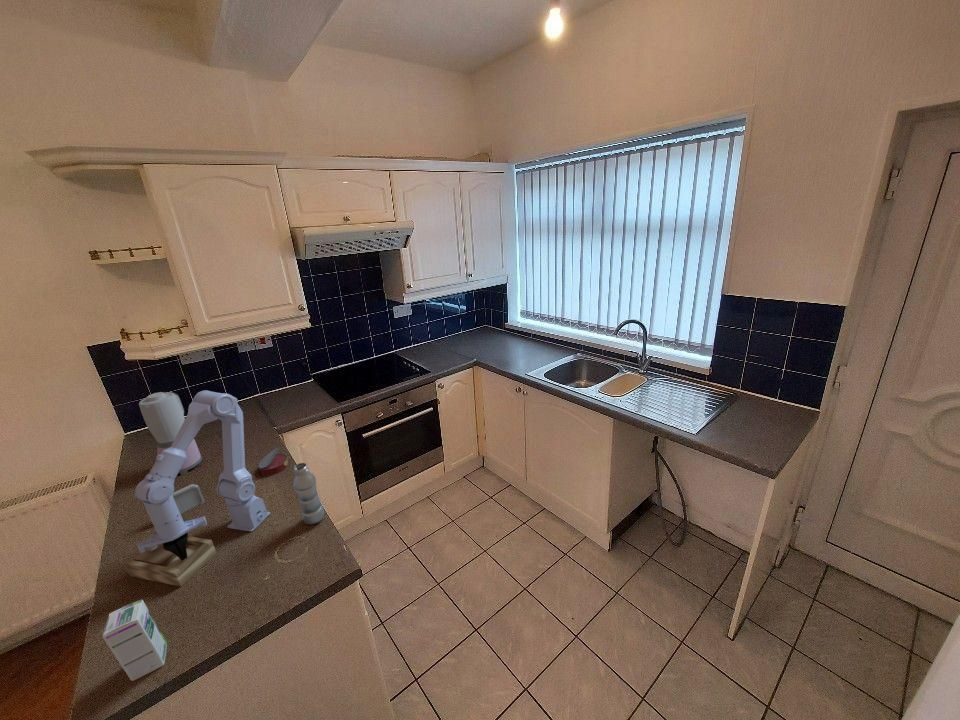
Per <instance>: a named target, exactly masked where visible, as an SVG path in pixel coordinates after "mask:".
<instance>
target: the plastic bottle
mask: <svg viewBox="0 0 960 720" xmlns="http://www.w3.org/2000/svg"><path fill="white" fill-rule="evenodd" d="M293 473H294V475H295V476H294V478H293V481H292V486H293V489H294V491H295V493H296V495H297V498H298V500H299V503H300V508H301V519H302V520H303V522H304V523H305V524H307V525H315V524H317V523H320V521H322V520H323V518H324V516H325V508H324V506H323V504H322V502H321V499H320V497H319V493H318V489H317V479H316V476H315V474H314V473H312V472H311V471H309V467H308V465H307V463H305V462H299V463H297V464H296V465H294V466H293Z"/></svg>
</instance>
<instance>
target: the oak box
mask: <svg viewBox="0 0 960 720" xmlns="http://www.w3.org/2000/svg"><path fill="white" fill-rule="evenodd" d="M187 544H188V546H189V547H188V548H186V551H187V558H186V559H184V560H182V561H181V560H180V558H179V557H178V556H177V557H176V558H175V559H174V560H173V561H171V562H170V563H169V564H168V565H167V566H166V567H165V566H160V565H155V564H150V563H144V562H139V561H134V559H129V558H128V559H127V560H125V561H123V565H124V566H125V567H124V568H125V569H126V570H127V573H128V575H129V577H132V578H134V577H135V578H139V579H143V580H148V581H152V582H156V583H157V582H158V583H162V584H167V585H171V586H177V587H183V586H184V585H185V583H187V582H188V581H189V580H190V579H191V578H192V577H193V576H194V575H195V574H196V573H197V572H198V571H199V570H201V568H203V566H205V565H206V564H207V563H208V562H209V561H210V560H211V559H212V558H213V557H214V556H215V555H216V554H217V553H218V552H217V550H216V547H215V546H214V545H215V544H214V543H213V540H212V539H208V538H201V537H196V536H189V535H188V540H187Z"/></svg>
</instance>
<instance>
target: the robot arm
mask: <svg viewBox="0 0 960 720" xmlns="http://www.w3.org/2000/svg"><path fill="white" fill-rule="evenodd" d="M187 411H188V412H187V415H186V417H184V418H185V420H184V422H183V424H182V426H181V428H180V430H179V432H178V434H177V436H176V438H175V440H174V442H173V444H172V446H171V447H170V448H168V449H165V450H163V451H162V453H161V454H160V455H158V454H157V456H155V457H156V458H155V460H156V461H155V462H154V464H153V466H152V468H151V469H150V471H149V472H148V473H147V474H146V475H145V477H144V479H142V480H140V482H139V483H138V484H137V485H136V487H135V490H134V491H135V492H134V494H133V496H134V498H135V499H137V500H139V501H142V504H143V505H144V507H145V510H146V513H147V515H148V517H149V519H150V521H151V523H152V526H153V527H154V529H155V531H156V533H155V534H153V535H151V536H150V537H148V538H146V539H144V540H143V541H141V542H140V541H139V542H138V543H137V549H138V552H139V554H140V553H143V552H145V551H146V549H148V548H151V547H153V546H156V545H158V544H161V543H163V548H164V549H165V550H167V551H170V552H172V553H173V554H175V555H176V556H178V557H179V558H180V560H181V561H182V560H184V559H186V558H187V551H186V545H187V540H188V536H189V534H188V533H189V532H191V531H193V530H196V529H198V528H200V527H202V528H203V527H206V526H207V525H208V523H207V521H208V520H207V519H206V517H205V516H201V517H200V516H199V517H198V518H194V519H190V520H186V521H184V519H183V517H182V513H181V514H180V512H179V510H178V507H177V505H176V503H175V500H174V498H173V496H172V494H173V492H175V479H176V478H177V476H178V474H180V473H179V471H180V469H181V467H182V466H183V464H184V462H185V460H186V459H187V456H186V453H185V451H186V449H187V448H188V446H189V445H190V443H191V442H192V440H193V439H194V440H195V438H196V436H197V435H198V434H199V432H200V430H201V428H202V427H203V426H204V425H205V424H208V423H212V422H214V421H217V420H220V421H221V434H222V455H223V457H222V459H223V471H222V472H221V473H220V474H219V475H218V483H217V485H216V489H215V490H216V494H217V495H218V496H220V497H223V498H224V501H225V504H226V507H227V509H228V512H229V515H230V518H231V523H229V524H228V525H227V528H228V529H233V530H239V531H243V532H244V531H245V532H253V531H254V530H255V529H256V528H257V527H259V526H260V524H261V523H262V522H263V521H265V519H266V518H268V516H270V515H271V512H270V511H268V510H267V507H266V504H265V501H264V499H263V498H261V497H258V496H256V495H255V492H256V485H255V483H254V481H253V476H252V474H251V473H250V471H248V470H247V468H246V456H245V455H246V454H245V431H244V428H245V427H244V411H243V410H242V409H241V407H240V405H239V404H238V398H237V397H235V396H233V395H232V394H230V393H224V392H223V393H221V392H215V391H211V390H208V389H207V390H206V389H205V390H202V391H199V392H196V394H195V395H194V397H193V399H192V401H191V403H190V404H189V405H188V410H187Z"/></svg>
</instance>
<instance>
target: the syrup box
mask: <svg viewBox="0 0 960 720" xmlns="http://www.w3.org/2000/svg"><path fill="white" fill-rule="evenodd" d="M102 639H103V640H104V642H105V643H106V645H107V646H108V648H109V649H110V651H111V653H112V655H114V658H116V660H117V661H118V663H119V664H120V666H121V667H122V669H123V671H124V672H125V674H126V675H127V677H128V678H129V679H130V681H131V682H133V681H136V680H138V679H141V678H142V677H144V676H146V675H148V674H150V673H152V672H153V671H156V670H157V669H159V668H161V667H163V666H165V662H166V661H165V660H166V657H167V647H168V642H167V640H166V638H165V636H164V635H163V633H162V631H161V629H160V627H159V625H158V624H157V623H156V620H155V619H154V617H153V616H152V613H151V612H150V610H149V608H148V607H147V605H146V603H145V602H144V600H143V599H139V600H136V601H135V602H134V601H133V602H131V603H129V604H126V605H124V606H122V607H121V608H119V609H116V610H114V611H112V612H110V613H109V614H108V617H107V621H106V623H105V626H104V629H103V633H102Z"/></svg>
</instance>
